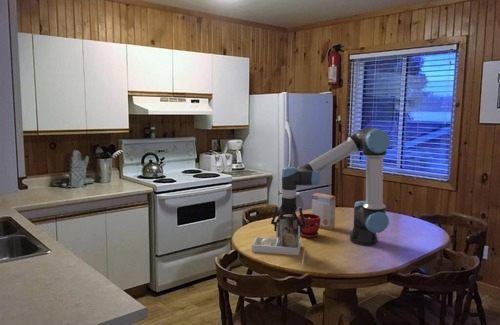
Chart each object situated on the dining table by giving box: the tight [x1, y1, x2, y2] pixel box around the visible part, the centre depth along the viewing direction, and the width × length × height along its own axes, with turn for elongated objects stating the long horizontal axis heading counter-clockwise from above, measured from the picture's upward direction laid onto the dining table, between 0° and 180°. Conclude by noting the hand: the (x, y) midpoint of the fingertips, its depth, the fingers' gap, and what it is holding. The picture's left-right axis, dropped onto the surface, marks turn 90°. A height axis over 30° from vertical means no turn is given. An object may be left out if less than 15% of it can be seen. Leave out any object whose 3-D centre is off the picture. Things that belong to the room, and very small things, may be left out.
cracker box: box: [311, 192, 336, 231], centre depth 261 cm, size 14×6×21 cm, turn 44°
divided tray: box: [251, 236, 302, 256], centre depth 221 cm, size 24×14×4 cm, turn 79°
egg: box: [261, 237, 271, 246], centre depth 222 cm, size 5×5×5 cm
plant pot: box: [297, 213, 321, 239], centre depth 246 cm, size 13×13×12 cm
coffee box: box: [277, 214, 299, 248], centre depth 219 cm, size 9×6×16 cm
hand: (288, 237), depth 219 cm, fingers closed on coffee box, 11 cm apart
